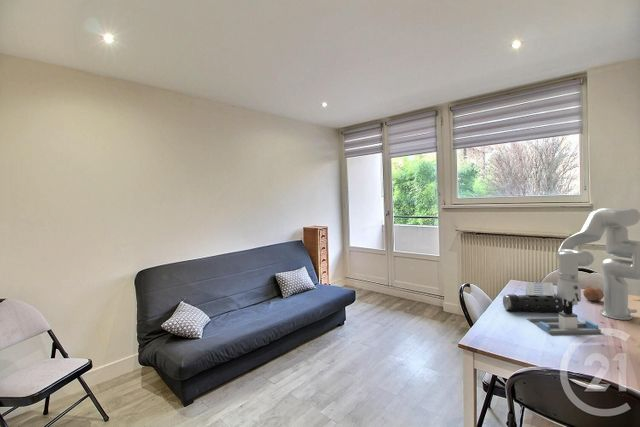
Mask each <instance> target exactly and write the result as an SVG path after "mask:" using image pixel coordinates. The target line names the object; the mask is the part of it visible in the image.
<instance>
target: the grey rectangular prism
mask: <svg viewBox="0 0 640 427" xmlns="http://www.w3.org/2000/svg"><path fill="white" fill-rule="evenodd" d="M558 317H559V328H560V329H577V321H578V314H576V313H574V312H572V314H566V313H564V312H563V311H562V312H558Z"/></svg>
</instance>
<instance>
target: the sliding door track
mask: <svg viewBox="0 0 640 427" xmlns="http://www.w3.org/2000/svg"><path fill="white" fill-rule="evenodd" d="M526 320H527V321H528V322H530V323H532V324H533V325H535V326H536V327H538V328H539V329H540V330H542V331H544V332H545V333H547V334H549V335H550V336H552V337H560V336H561V337H563V336H564V337H566V336H567V337H570V336H571V337H572V336H605V334H603V333H602V329H600V328H599V325H598V324H596V323H594V322H592V321H590V320H585V321H584V322H583V321H582V322H580V321H579V320H577V329H560V328H559V316H547V317H546V316H545V317H544V316H543V317H542V316H541V317H540V316H539V317H528V318H526Z"/></svg>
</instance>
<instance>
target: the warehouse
mask: <svg viewBox="0 0 640 427" xmlns="http://www.w3.org/2000/svg"><path fill="white" fill-rule="evenodd" d="M525 295H536V296H555V290H554V282H526V288H525Z"/></svg>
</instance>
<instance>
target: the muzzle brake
mask: <svg viewBox="0 0 640 427" xmlns="http://www.w3.org/2000/svg"><path fill="white" fill-rule="evenodd" d="M502 305H503V308H504V310H505V311H509V312H539V313H540V312H543V313H544V312H545V313H548V312H549V313H559V312H563V304H562V300H561V299H560V298H559V296H558V295H554V296H536V295H526V294H520V295H517V294H506V295H503V297H502Z"/></svg>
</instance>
